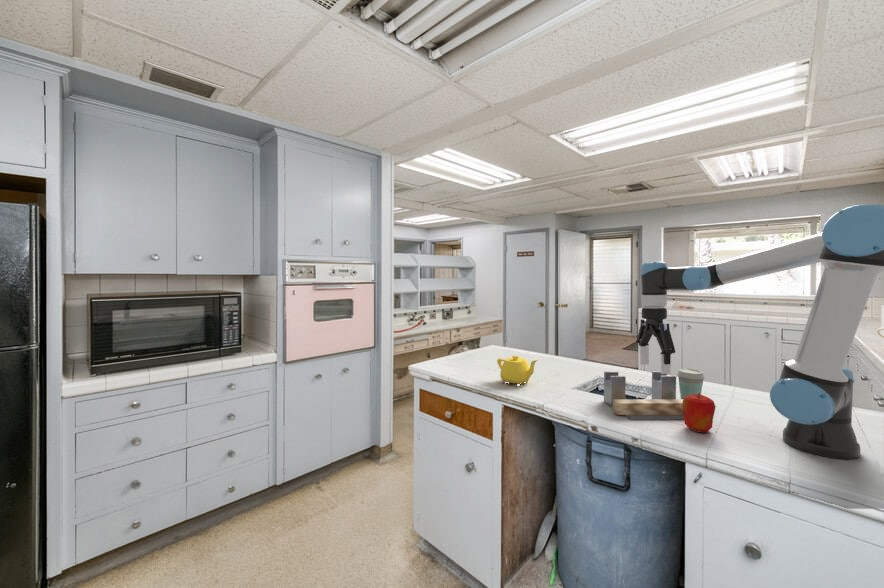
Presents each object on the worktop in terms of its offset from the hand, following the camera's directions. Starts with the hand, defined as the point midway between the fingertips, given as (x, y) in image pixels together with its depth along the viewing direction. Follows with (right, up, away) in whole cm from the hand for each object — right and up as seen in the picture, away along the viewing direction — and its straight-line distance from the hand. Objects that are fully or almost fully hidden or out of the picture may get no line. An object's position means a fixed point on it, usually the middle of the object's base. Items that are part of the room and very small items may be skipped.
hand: (654, 368), depth 127 cm
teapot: (-39, -15, +41) cm, 58 cm away
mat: (+2, -16, +1) cm, 16 cm away
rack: (0, -16, +11) cm, 19 cm away
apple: (+7, -17, -12) cm, 22 cm away
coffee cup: (+21, -15, +12) cm, 28 cm away
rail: (0, -15, +1) cm, 15 cm away
